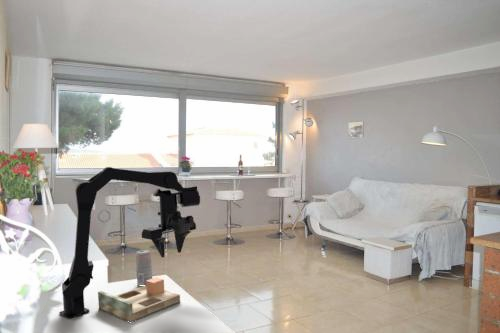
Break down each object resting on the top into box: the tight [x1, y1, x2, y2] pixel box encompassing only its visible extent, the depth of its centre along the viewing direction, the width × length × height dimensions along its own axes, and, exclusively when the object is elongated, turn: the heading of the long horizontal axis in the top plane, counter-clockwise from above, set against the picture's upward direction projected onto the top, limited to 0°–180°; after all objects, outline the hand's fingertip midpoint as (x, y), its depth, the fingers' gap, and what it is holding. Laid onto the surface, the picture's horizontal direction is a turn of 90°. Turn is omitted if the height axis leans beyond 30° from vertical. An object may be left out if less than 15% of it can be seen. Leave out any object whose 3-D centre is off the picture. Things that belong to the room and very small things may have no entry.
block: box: [146, 276, 165, 295], centre depth 128 cm, size 4×4×4 cm
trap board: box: [97, 285, 181, 323], centre depth 123 cm, size 17×18×5 cm
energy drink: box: [135, 249, 153, 286], centre depth 143 cm, size 5×5×12 cm
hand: (171, 254), depth 132 cm, fingers open, 7 cm apart
